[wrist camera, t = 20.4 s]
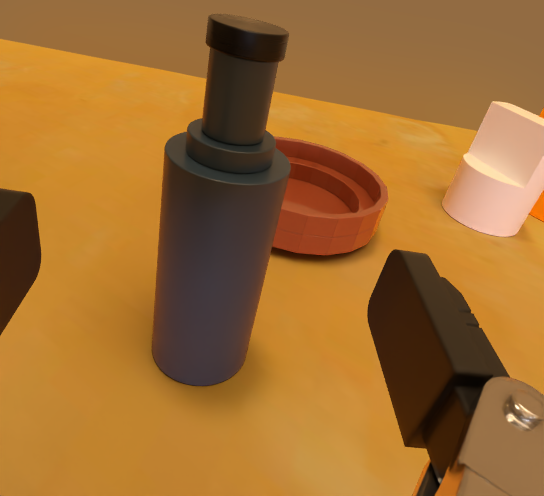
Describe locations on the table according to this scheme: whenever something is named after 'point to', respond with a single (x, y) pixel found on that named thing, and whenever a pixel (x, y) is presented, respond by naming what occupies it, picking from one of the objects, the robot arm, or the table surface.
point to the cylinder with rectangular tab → (499, 172)
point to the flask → (220, 208)
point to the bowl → (327, 201)
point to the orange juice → (540, 209)
